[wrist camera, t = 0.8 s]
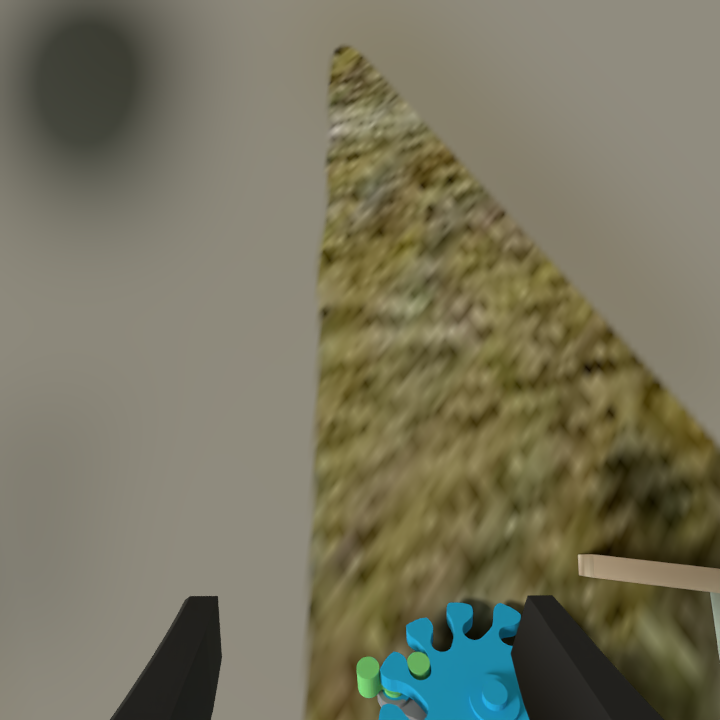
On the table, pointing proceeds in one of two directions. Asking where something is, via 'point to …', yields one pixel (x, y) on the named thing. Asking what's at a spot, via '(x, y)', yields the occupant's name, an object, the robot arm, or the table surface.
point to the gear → (449, 673)
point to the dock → (656, 576)
